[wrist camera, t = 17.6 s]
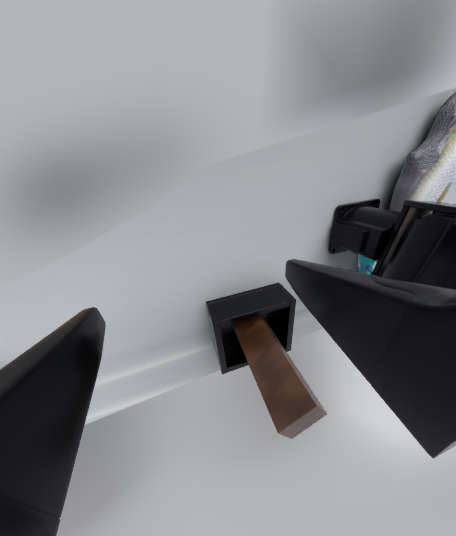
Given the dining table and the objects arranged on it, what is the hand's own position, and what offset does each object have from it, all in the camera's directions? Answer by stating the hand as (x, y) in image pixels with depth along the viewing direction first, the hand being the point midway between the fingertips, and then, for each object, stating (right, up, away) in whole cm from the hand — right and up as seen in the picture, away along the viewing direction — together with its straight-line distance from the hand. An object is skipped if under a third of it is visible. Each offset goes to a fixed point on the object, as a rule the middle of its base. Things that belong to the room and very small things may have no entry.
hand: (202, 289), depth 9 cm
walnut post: (+4, -7, +18) cm, 20 cm away
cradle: (+4, -6, +19) cm, 20 cm away
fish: (+31, +13, +16) cm, 37 cm away
